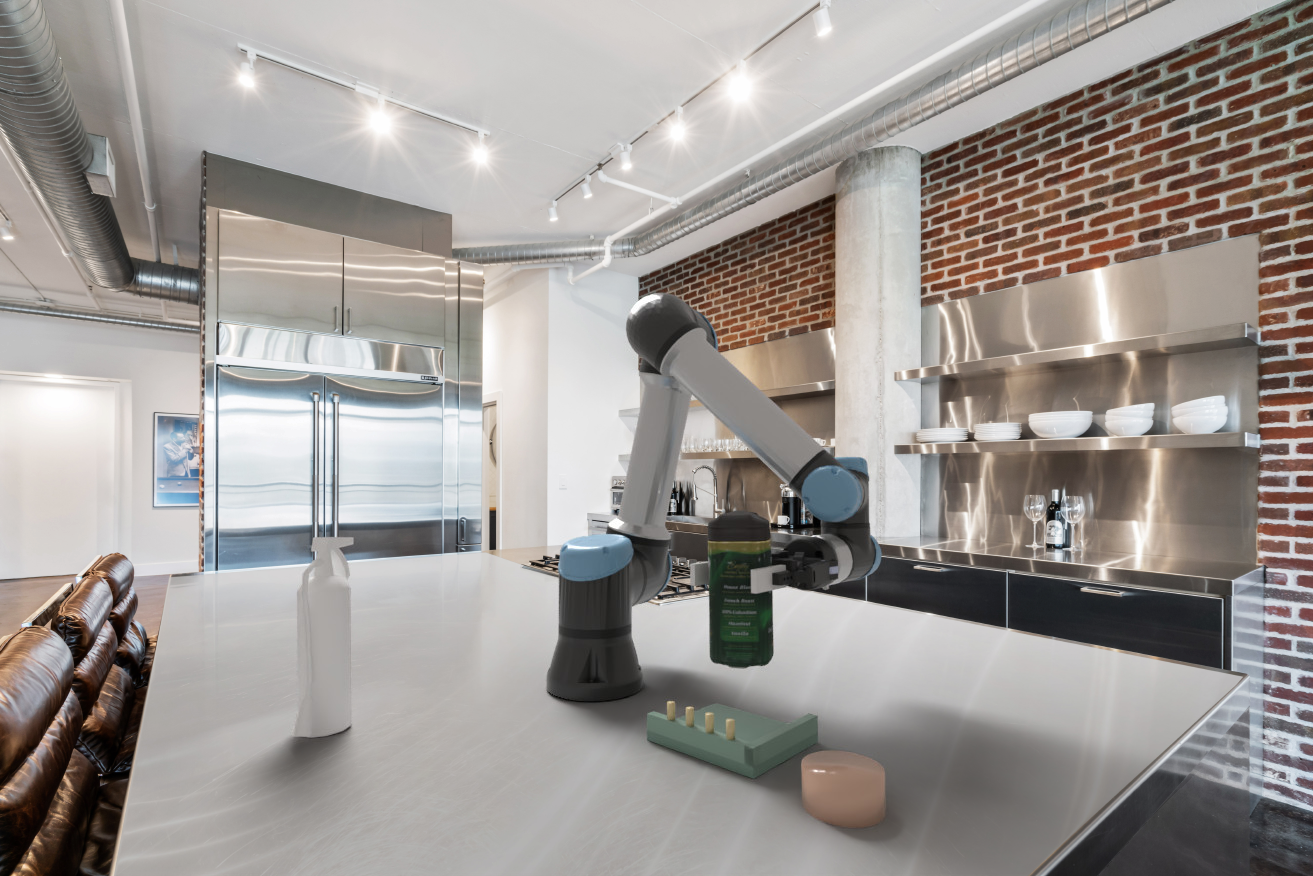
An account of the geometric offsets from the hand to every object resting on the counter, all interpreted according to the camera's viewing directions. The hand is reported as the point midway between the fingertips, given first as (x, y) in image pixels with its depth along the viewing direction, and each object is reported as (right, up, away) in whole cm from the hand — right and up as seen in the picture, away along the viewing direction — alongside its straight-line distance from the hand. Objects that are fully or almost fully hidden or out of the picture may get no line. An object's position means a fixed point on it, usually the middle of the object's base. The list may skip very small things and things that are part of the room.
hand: (722, 578), depth 80 cm
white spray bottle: (-52, -21, +5) cm, 56 cm away
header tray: (+1, -21, +2) cm, 21 cm away
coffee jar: (+3, -11, +2) cm, 11 cm away
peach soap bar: (+11, -20, -15) cm, 27 cm away
